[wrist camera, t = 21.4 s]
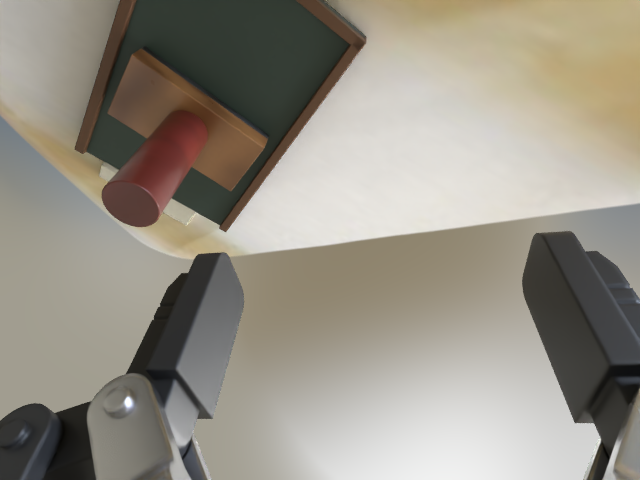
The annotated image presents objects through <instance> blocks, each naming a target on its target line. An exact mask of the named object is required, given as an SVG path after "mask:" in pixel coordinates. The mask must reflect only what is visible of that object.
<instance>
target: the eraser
mask: <svg viewBox="0 0 640 480" xmlns="http://www.w3.org/2000/svg"><path fill="white" fill-rule="evenodd" d="M107 113H108V114H109V115H111V116H112V117H114V118H115V119H117V120H119V121H120V122H122V123H123V124H125V125H127V126H128V127H130V128H131V129H133V130H134V131H136V132H138V133H139V134H141V135H142V136H144V137H145V138H147V139H146V141H145V142H144V143H143V144H142V145H141V146H140V147H139V148H138V149H137V151H136V152H135V153H134V154H133V155H132V156H131V157H130V158H129V160H128V161H127V162H126V163H125V164H124V165H123V166H122V167H121V169H120V170H119V171H118V172H117V173H116V174H115V175H114V176H113V177H112V179H111V180H110V181H109V182H108V183H107V184H106V185H105V186H104V188H103V190H102V201H103V203H104V205H105V207H106V209H107V210H108V211H109V212H110V213H111V214H112V215H113V216H114V217H115V218H117V219H118V220H120V221H121V222H123V223H125V224H128V225H131V226H135V227H146V226H150V225H152V224H154V223H155V222H156V221H157V220H158V218H159V217H160V215H161V214H162V212H163V211H164V209H165V208H166V206H167V204H168V203H169V201H170V200H171V198H172V197H173V195H174V193H175V192H176V190H177V189H178V187H179V186H180V184H181V182H182V181H183V179H184V178H185V176H186V175H187V173H188V171H189V170H190V168H191V167H193V168H194V169H196V170H198V171H199V172H201V173H202V174H204V175H205V176H207V177H209V178H210V179H212V180H213V181H215V182H216V183H218V184H220V185H221V186H223V187H224V188H226V189H227V190H229V191H232V189H233V188H234V187H235V186H236V184H237V183H238V182H239V180H240V179H241V178H242V176H243V175H244V174H245V173H246V171H247V170H248V169H249V167H250V166H251V165H252V164H253V162H254V161H255V160H256V158H257V157H258V156H259V154H260V153H261V152H262V151H263V149H264V148H265V145H266V143H267V140H268V138H269V135H268V134H266V133H265V132H263V131H262V130H261V129H259V128H258V127H256V126H255V125H254V124H252V123H251V122H250V121H248V120H247V119H245V118H244V117H243V116H241V115H240V114H238V113H237V112H236V111H234V110H233V109H231V108H230V107H229V106H227V105H226V104H225V103H223V102H222V101H220V100H219V99H218V98H216V97H215V96H213V95H212V94H211V93H209V92H208V91H206V90H205V89H204V88H202V87H201V86H200V85H198V84H197V83H195V82H194V81H193V80H191V79H190V78H188V77H187V76H186V75H184V74H183V73H182V72H180V71H179V70H177V69H176V68H175V67H173V66H172V65H170V64H169V63H168V62H166V61H165V60H163V59H162V58H161V57H159V56H158V55H157V54H155V53H154V52H152V51H151V50H150V49H148V48H147V47H145V46H144V47H142V48H141V49H139V50H138V51H137V52H135V53H134V54H132V55H131V57H130V59H129V62H128V64H127V67H126V69H125V71H124V74H123V76H122V79H121V81H120V83H119V86H118V88H117V91H116V93H115V95H114V98H113V100H112V103H111V105H110V107H109V110H108V112H107Z"/></svg>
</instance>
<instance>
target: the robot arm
mask: <svg viewBox="0 0 640 480" xmlns="http://www.w3.org/2000/svg"><path fill="white" fill-rule="evenodd" d="M522 285H523V293H524V297H525V300H526V303H527V305H528V308H529V310H530V313H531V315H532V318H533V320H534V322H535V325H536V328H537V330H538V332H539V335H540V337H541V340H542V342H543V345H544V347H545V350H546V352H547V355H548V357H549V360H550V362H551V365H552V367H553V370H554V372H555V375H556V377H557V380H558V382H559V385H560V387H561V390H562V392H563V395H564V397H565V400H566V402H567V405H568V407H569V410H570V412H571V415H572V417H573V419H574V422H575V423H594V424H595V426H596V428H597V431H598V433H599V435H600V438H599V440H598V442H597V444H596V447H595V449H594V452H593V455H592V457H591V460H590V463H589V465H588V468H587V471H586V473H585V476H584V479H583V480H640V299H639V298H638V296H637V295H636V293H635V292H634V290H633V289H632V288H630V287H629V283H628V281H627V280H626V278H625V277H624V275H623V274H622V273H621V271H620V270H619V268H618V267H617V266H616V265H615V264H614V263H612V262H611V261H610V260H608V259H607V258H606V257H604V256H603V255H601V254H600V253H599V252H597V251H589V252H585V250H584V249H583V247H582V246H581V244H580V242H579V241H578V239H577V238H576V236H575V235H574V234H573V233H572V232H570V231H565V232H548V233H536V234H535V235H534V237H533V239H532V243H531V246H530V250H529V254H528V258H527V262H526V266H525V269H524V273H523V280H522ZM243 307H244V294H243V289H242V286H241V284H240V282H239V279H238V277H237V275H236V272H235V270H234V268H233V265H232V263H231V260H230V258H229V256H228V255H227V254H226V253H224V252H223V253H207V254H198V255H197V256H196V257H195V259H194V261H193V264H192V266H191V268H190V271H189V273H181V275H179V276H178V278H177V279H176V280H175V281H174V282H173V283H172V284H171V285H170V286H169V287H168V288H167V290H166V293H165V295H164V297H163V299H162V301H161V303H160V307H158V309H157V311H156V313H155V315H154V320H152V322H151V324H150V326H149V328H148V330H147V332H146V334H145V336H144V338H143V340H142V342H141V344H140V346H139V348H138V351H137V353H136V355H135V357H134V359H133V361H132V363H131V365H130V367H129V369H128V371H127V373H126V374H125V375H122V376H119V377H117V378H115V379H113V380H112V381H110V382H109V383H108V384H106V385H105V386H104V387H103V388H102V389H101V390H100V391H99V392H98V393H97V394H96V396H95V397H94V399H93V400H92V401H91V402H87V403H84V404H81V405H78V406H75V407H72V408H69V409H66V410H63V411H60V412H57V413H54V412H52V411H51V410H50V409H48V408H47V407H46V406H44V405H42V404H35V403H34V404H28V405H25V406H22V407H20V408H18V409H16V410H14V411H13V412H11V413H10V414H8V415H7V416H5V417H4V418H3V419H2V420H1V421H0V480H212V479H211V476H210V474H209V471H208V468H207V466H206V463H205V461H204V458H203V455H202V453H201V450H200V448H199V445H198V442H197V440H196V437H195V435H194V433H193V430H194V427H195V424H196V420H197V419H212V418H213V415H214V412H215V408H216V405H217V401H218V397H219V393H220V390H221V387H222V383H223V380H224V376H225V372H226V369H227V365H228V362H229V358H230V355H231V351H232V347H233V344H234V340H235V337H236V333H237V329H238V326H239V322H240V319H241V315H242V311H243Z"/></svg>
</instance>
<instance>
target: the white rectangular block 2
mask: <svg viewBox="0 0 640 480" xmlns="http://www.w3.org/2000/svg"><path fill="white" fill-rule="evenodd" d="M163 213H165V214H166V215H168V216H170V217H172V218H174V219H175V220H177V221H179V222H181V223H183V224H184V225H187V224H188V222H189V221H190V219H191V218H192V216H193V215H194V213H195V211H193V210H192V209H190V208H188V207H186V206H184V205H182V204H181V203H179V202H177V201H175V200H173V199H172V198H171V200H170V201H169V203H168V204H167V206H166V208H165V209H164V211H163Z"/></svg>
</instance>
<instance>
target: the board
mask: <svg viewBox="0 0 640 480" xmlns="http://www.w3.org/2000/svg"><path fill="white" fill-rule="evenodd" d="M365 44H366V36H365V35H364V34H363V33H361V32H360V31H359V30H358V29H357V28H355V27H354V26H353V25H352V24H351V23H349V22H348V21H347V20H346V19H345V18H344V17H342V16H341V15H340V14H339V13H338V12H336V11H335V10H334V9H333V8H332V7H330V6H329V5H328V4H327V3H326V2H325V1H323V0H120V2H119V6H118V9H117V12H116V15H115V19H114V22H113V25H112V29H111V32H110V35H109V38H108V42H107V45H106V48H105V51H104V55H103V58H102V61H101V64H100V68H99V71H98V74H97V77H96V81H95V84H94V87H93V90H92V94H91V97H90V100H89V104H88V107H87V110H86V113H85V117H84V120H83V123H82V126H81V130H80V133H79V136H78V139H77V143H76V146H75V150H76V151H78V152H80V153H82V154H84V153H85V152H88V153H90V154H92V155H94V156H95V157H97V158H99V159H101V160H103V161H104V162H106V163H108V164H110V165H112V166H113V167H115V168H117V169H119V170H120V169H121V167H122V166H123V165H124V164H125V163H126V162H127V161H128V160H129V158H130V157H131V156H132V155H133V154H134V153H135V152H136V151H137V149H138V148H139V147H140V146H141V145H142V144H143V143H144V142H145V141H146V139H147V138H145V137H144V136H142V135H141V134H139V133H138V132H136V131H134V130H133V129H131V128H130V127H128V126H127V125H125V124H123V123H122V122H120V121H119V120H117V119H115V118H114V117H112V116H111V115H109V114H108V113H107V112H108V110H109V107H110V105H111V103H112V100H113V98H114V95H115V93H116V91H117V88H118V86H119V83H120V81H121V79H122V76H123V74H124V71H125V69H126V67H127V64H128V62H129V59H130V57H131V55H132V54H134V53H135V52H137V51H138V50H139V49H141V48H142V47H144V46H145V47H147V48H148V49H150V50H151V51H152V52H154V53H155V54H157V55H158V56H159V57H161V58H162V59H163V60H165V61H166V62H168V63H169V64H170V65H172V66H173V67H175V68H176V69H177V70H179V71H180V72H182V73H183V74H184V75H186V76H187V77H188V78H190V79H191V80H193V81H194V82H195V83H197V84H198V85H200V86H201V87H202V88H204V89H205V90H206V91H208V92H209V93H211V94H212V95H213V96H215V97H216V98H218V99H219V100H220V101H222V102H223V103H225V104H226V105H227V106H229V107H230V108H231V109H233V110H234V111H236V112H237V113H238V114H240V115H241V116H243V117H244V118H245V119H247V120H248V121H250V122H251V123H252V124H254V125H255V126H256V127H258V128H259V129H261V130H262V131H263V132H265V133H266V134H268V135H269V138H268V140H267V143H266V145H265V148H264V149H263V151H262V152H261V153H260V154H259V156H258V157H257V158H256V160H255V161H254V162H253V164H252V165H251V166H250V167H249V169H248V170H247V171H246V173H245V174H244V175H243V176H242V178H241V179H240V180H239V182H238V183H237V184H236V186H235V187H234V188H233V189H232V191H229V190H227V189H226V188H224V187H223V186H221V185H220V184H218V183H216V182H215V181H213V180H212V179H210V178H209V177H207V176H205V175H204V174H202V173H201V172H199V171H198V170H196V169H194V168H193V167H191V168H190V170H189V171H188V173H187V175H186V176H185V178H184V179H183V181H182V182H181V184H180V186H179V187H178V189H177V190H176V192H175V193H174V195H173V197H172V199H173V200H175V201H177V202H179V203H181V204H182V205H184V206H186V207H188V208H190V209H192V210H193V211H195V212H197V213H199V214H201V215H202V216H204V217H206V218H208V219H210V220H212V221H213V222H215V223H217V224H219V225H220V227H219V229H221V230H223V231H225V232H226V231H227V230H228V229H229V227H230V226H231V225H232V223H233V222H234V221H235V219H236V218H237V217H238V215H239V214H240V212H241V211H242V210H243V208H244V207H245V206H246V204H247V203H248V202H249V200H250V199H251V198H252V196H253V195H254V194H255V192H256V191H257V190H258V188H259V187H260V185H261V184H262V183H263V181H264V180H265V179H266V177H267V176H268V175H269V173H270V172H271V171H272V169H273V168H274V167H275V165H276V164H277V163H278V161H279V160H280V159H281V157H282V156H283V154H284V153H285V152H286V150H287V149H288V148H289V146H290V145H291V144H292V142H293V141H294V140H295V138H296V137H297V136H298V134H299V133H300V132H301V130H302V129H303V128H304V126H305V125H306V123H307V122H308V121H309V119H310V118H311V117H312V115H313V114H314V113H315V111H316V110H317V109H318V107H319V106H320V105H321V103H322V102H323V101H324V99H325V98H326V97H327V95H328V94H329V92H330V91H331V90H332V88H333V87H334V86H335V84H336V83H337V82H338V80H339V79H340V78H341V76H342V75H343V74H344V72H345V71H346V70H347V68H348V67H349V65H350V64H351V63H352V61H353V60H354V59H355V57H356V56H357V55H358V53H359V52H360V51H361V49H362V48H363V47H364V45H365Z"/></svg>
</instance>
